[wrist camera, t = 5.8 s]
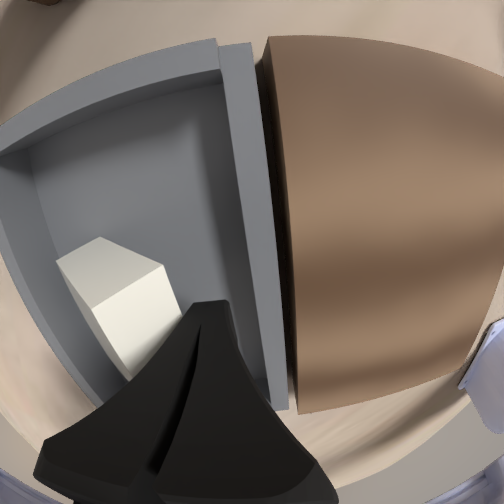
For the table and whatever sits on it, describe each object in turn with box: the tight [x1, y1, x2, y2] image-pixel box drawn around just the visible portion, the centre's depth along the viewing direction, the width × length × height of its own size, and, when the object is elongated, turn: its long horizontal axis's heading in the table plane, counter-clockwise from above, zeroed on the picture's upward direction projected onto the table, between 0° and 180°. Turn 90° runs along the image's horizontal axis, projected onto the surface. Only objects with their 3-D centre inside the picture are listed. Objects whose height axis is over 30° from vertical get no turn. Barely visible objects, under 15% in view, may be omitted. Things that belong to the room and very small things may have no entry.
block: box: [56, 237, 183, 381], centre depth 10 cm, size 6×6×2 cm
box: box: [0, 38, 289, 411], centre depth 12 cm, size 18×12×4 cm, turn 7°
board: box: [262, 35, 504, 415], centre depth 11 cm, size 18×12×3 cm, turn 7°
